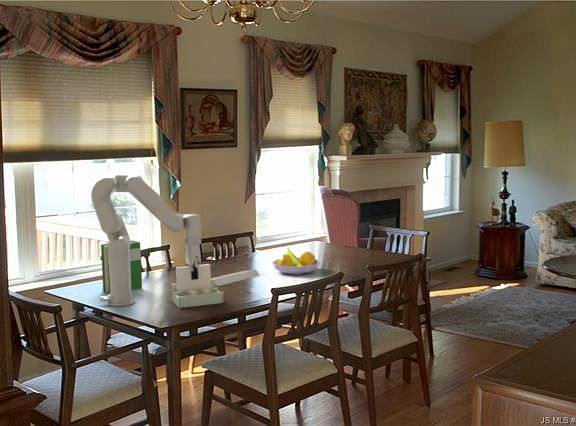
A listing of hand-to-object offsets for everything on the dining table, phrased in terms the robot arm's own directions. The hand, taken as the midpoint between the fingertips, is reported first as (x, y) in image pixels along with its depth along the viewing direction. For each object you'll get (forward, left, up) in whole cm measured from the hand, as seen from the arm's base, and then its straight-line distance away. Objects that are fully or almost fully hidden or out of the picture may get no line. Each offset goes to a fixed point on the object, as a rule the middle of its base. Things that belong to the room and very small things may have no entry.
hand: (194, 278), depth 316 cm
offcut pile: (0, -7, -10) cm, 13 cm away
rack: (0, -4, -10) cm, 11 cm away
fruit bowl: (+68, +35, -10) cm, 77 cm away
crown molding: (+30, +34, -11) cm, 46 cm away
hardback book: (-28, +35, -10) cm, 46 cm away
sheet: (0, 0, -10) cm, 10 cm away
